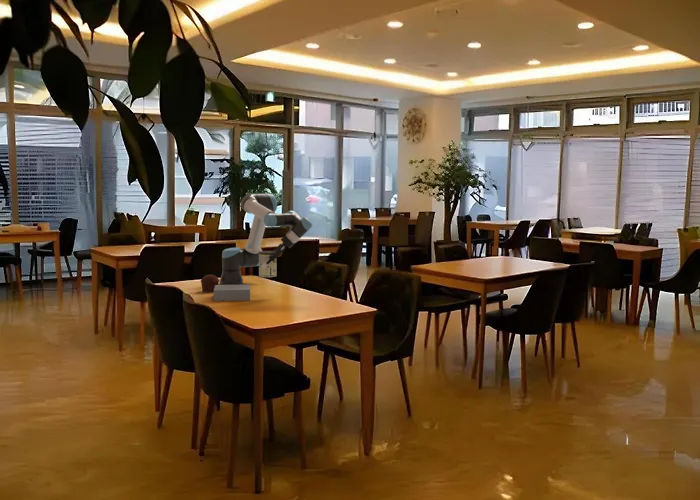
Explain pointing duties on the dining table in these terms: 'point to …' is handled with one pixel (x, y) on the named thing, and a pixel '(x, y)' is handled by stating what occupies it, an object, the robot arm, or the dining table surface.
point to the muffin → (209, 283)
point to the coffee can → (271, 268)
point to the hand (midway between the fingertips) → (262, 266)
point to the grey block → (231, 292)
